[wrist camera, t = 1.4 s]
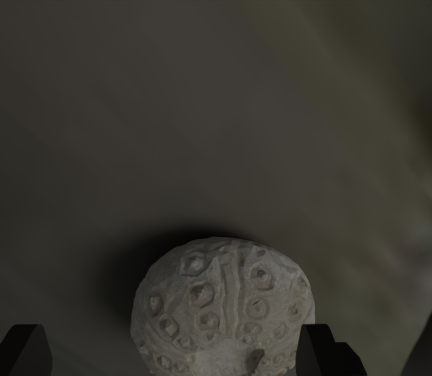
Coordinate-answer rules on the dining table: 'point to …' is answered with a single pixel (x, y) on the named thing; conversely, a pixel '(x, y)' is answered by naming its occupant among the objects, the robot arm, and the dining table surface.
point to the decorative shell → (221, 310)
